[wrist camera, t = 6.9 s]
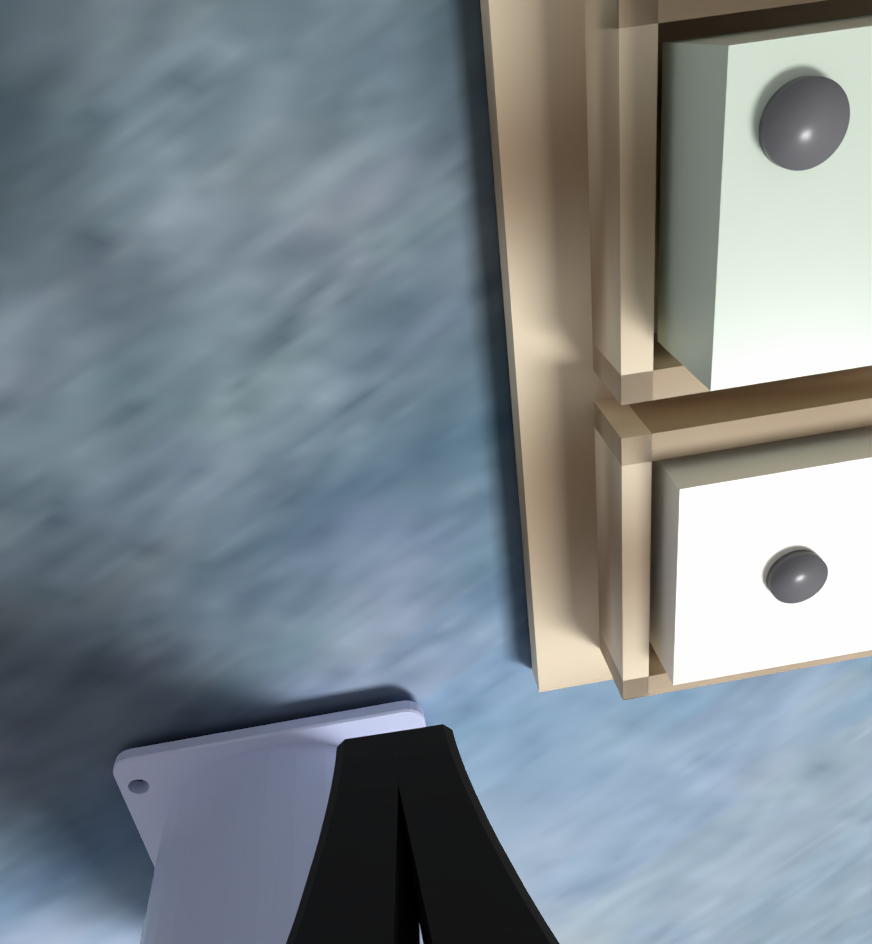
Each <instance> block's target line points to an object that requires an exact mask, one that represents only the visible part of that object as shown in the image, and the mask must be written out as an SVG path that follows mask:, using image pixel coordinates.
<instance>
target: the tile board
mask: <svg viewBox="0 0 872 944" xmlns="http://www.w3.org/2000/svg"><path fill="white" fill-rule="evenodd" d="M480 5H481V17H482V30H483V43H484V56H485V69H486V82H487V95H488V107H489V120H490V133H491V146H492V159H493V172H494V185H495V197H496V210H497V223H498V236H499V249H500V262H501V275H502V287H503V300H504V313H505V326H506V339H507V352H508V365H509V377H510V390H511V403H512V416H513V429H514V442H515V455H516V467H517V480H518V493H519V506H520V519H521V532H522V545H523V557H524V570H525V583H526V596H527V609H528V622H529V635H530V647H531V660H532V671H533V674H534V677H535V680H536V683H537V686H538V690H539V692H543V691H549V690H555V689H560V688H566V687H572V686H577V685H583V684H588V683H594V682H600V681H605V680H611V679H614V681H615V684H616V686H617V688H618V690H619V692H620V695H621V697H622V699H623V700H627V699H633V698H639V697H644V696H650V695H655V694H661V693H666V692H672V691H678V690H683V689H689V688H694V687H700V686H705V685H711V684H717V683H722V682H728V681H733V680H739V679H744V678H750V677H756V676H761V675H767V674H772V673H778V672H783V671H789V670H795V669H800V668H806V667H811V666H817V665H822V664H828V663H834V662H839V661H845V660H850V659H856V658H861V657H867V656H872V650H868V651H863V652H857V653H852V654H846V655H840V656H835V657H829V658H824V659H818V660H812V661H807V662H801V663H796V664H790V665H785V666H779V667H773V668H768V669H762V670H757V671H751V672H745V673H740V674H734V675H729V676H723V677H718V678H712V679H706V680H701V681H695V682H690V683H684V684H678V685H673V684H672V682H671V681H670V679H669V677H668V675H667V673H666V671H665V669H664V668H663V666H662V664H661V662H660V660H659V658H658V656H657V654H656V653H655V651H654V649H653V647H652V645H651V643H650V641H649V617H650V548H651V479H652V461H657V460H663V459H669V458H675V457H681V456H687V455H693V454H699V453H705V452H711V451H717V450H723V449H730V448H736V447H742V446H748V445H754V444H760V443H766V442H772V441H778V440H784V439H790V438H796V437H803V436H809V435H815V434H821V433H827V432H833V431H839V430H845V429H851V428H857V427H863V426H870V425H872V365H871V366H864V367H858V368H852V369H846V370H839V371H833V372H827V373H821V374H814V375H808V376H802V377H796V378H790V379H783V380H777V381H771V382H765V383H758V384H752V385H746V386H740V387H733V388H727V389H721V390H715V391H710V390H709V389H708V388H707V387H706V386H705V385H704V384H702V383H701V382H700V381H699V380H698V379H697V378H696V377H695V376H694V375H693V374H692V373H691V372H690V371H689V370H687V369H686V368H685V367H684V366H683V365H682V364H681V363H680V362H679V361H678V360H677V359H676V358H675V357H674V356H672V355H671V354H670V353H669V352H668V351H667V350H666V349H665V348H664V347H663V346H662V345H661V344H660V343H659V342H658V284H659V226H660V167H661V108H662V50H663V42H670V41H677V40H685V39H692V38H699V37H707V36H714V35H721V34H728V33H736V32H743V31H750V30H758V29H765V28H772V27H779V26H787V25H794V24H801V23H809V22H816V21H823V20H830V19H838V18H845V17H852V16H860V15H867V14H872V0H480Z"/></svg>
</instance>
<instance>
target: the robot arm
mask: <svg viewBox="0 0 872 944" xmlns="http://www.w3.org/2000/svg"><path fill="white" fill-rule="evenodd" d="M113 775H114V778H115V780H116V782H117V784H118V787H119V789H120V791H121V793H122V795H123V798H124V800H125V802H126V804H127V807H128V809H129V811H130V813H131V816H132V818H133V820H134V822H135V825H136V827H137V829H138V831H139V833H140V836H141V838H142V840H143V842H144V845H145V847H146V849H147V851H148V854H149V856H150V858H151V860H152V863H153V865H154V867H155V870H154V875H153V881H152V886H151V891H150V896H149V901H148V906H147V911H146V916H145V921H144V926H143V931H142V937H141V942H140V944H559V942H558V941H557V939H556V938H555V936H554V934H553V933H552V931H551V930H550V928H549V927H548V925H547V923H546V922H545V920H544V919H543V917H542V915H541V914H540V912H539V910H538V909H537V907H536V905H535V904H534V902H533V900H532V899H531V897H530V895H529V894H528V892H527V890H526V889H525V887H524V885H523V883H522V881H521V880H520V878H519V876H518V874H517V872H516V871H515V869H514V867H513V865H512V864H511V862H510V860H509V858H508V856H507V855H506V853H505V851H504V849H503V847H502V846H501V844H500V842H499V840H498V838H497V836H496V834H495V832H494V830H493V828H492V826H491V825H490V823H489V821H488V819H487V816H486V814H485V812H484V810H483V808H482V806H481V804H480V802H479V800H478V797H477V795H476V793H475V791H474V789H473V786H472V784H471V782H470V779H469V777H468V775H467V772H466V770H465V767H464V765H463V762H462V759H461V757H460V754H459V751H458V748H457V745H456V742H455V738H454V735H453V731H452V730H451V729H450V728H448V727H447V726H445V725H443V724H442V725H435V726H429V727H426V724H425V718H424V712H423V710H422V707H421V706H420V705H419V704H417V703H416V702H413V701H398V702H392V703H386V704H381V705H375V706H369V707H364V708H358V709H353V710H347V711H341V712H336V713H330V714H324V715H319V716H313V717H307V718H302V719H296V720H290V721H285V722H279V723H273V724H268V725H262V726H256V727H251V728H245V729H240V730H234V731H228V732H223V733H217V734H211V735H206V736H200V737H194V738H189V739H183V740H177V741H172V742H166V743H160V744H155V745H149V746H143V747H138V748H132V749H128V750H125V751H122V752H121V753H120V754H119V755H118V756H117V758H116V760H115V763H114V767H113ZM137 780H144V781H137Z"/></svg>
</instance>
